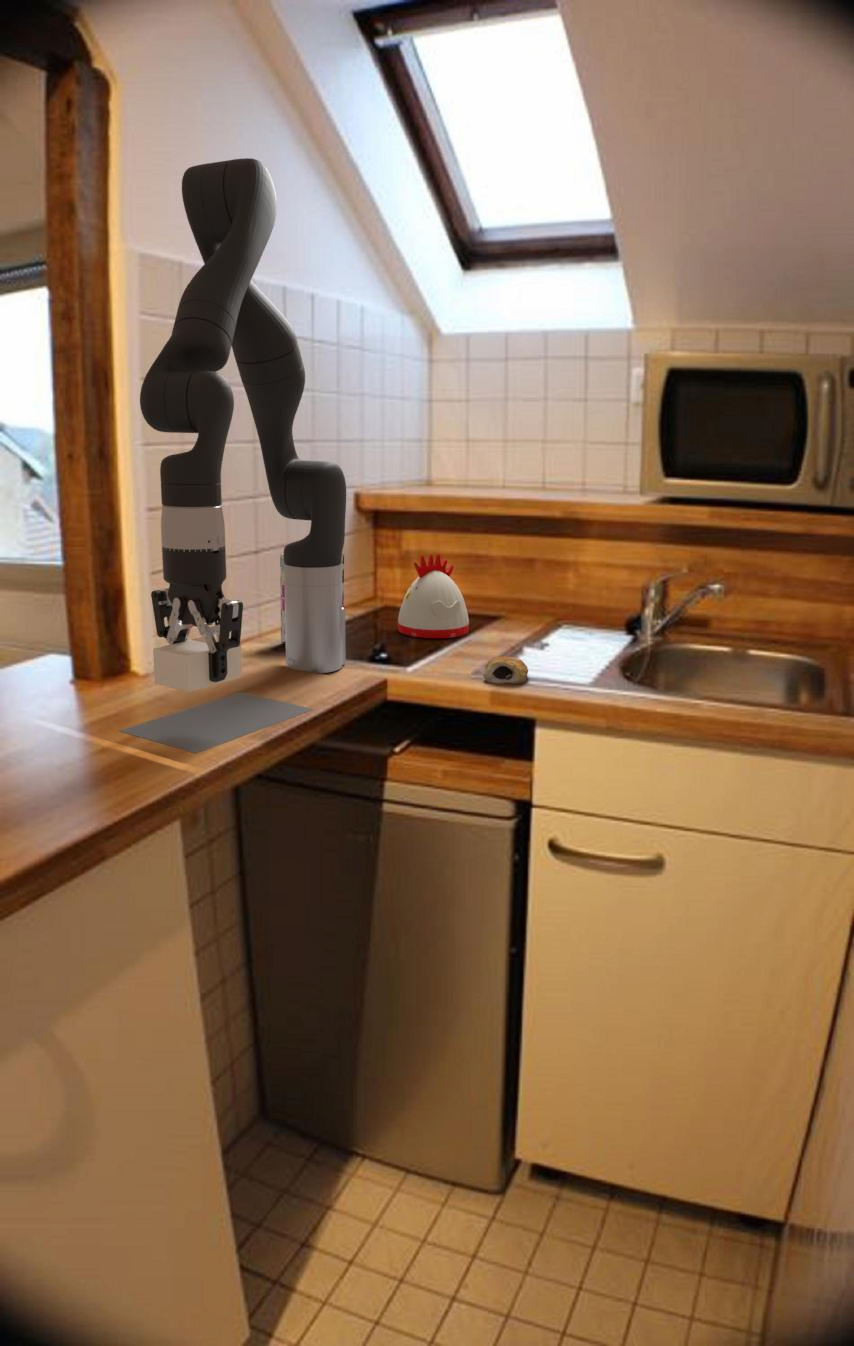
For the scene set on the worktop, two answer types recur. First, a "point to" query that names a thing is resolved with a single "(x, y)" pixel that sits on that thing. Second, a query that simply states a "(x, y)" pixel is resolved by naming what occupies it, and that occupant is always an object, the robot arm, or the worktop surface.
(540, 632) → the worktop surface
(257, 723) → the mat
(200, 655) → the card deck
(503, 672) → the pastry
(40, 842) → the worktop surface
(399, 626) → the kitchen timer
